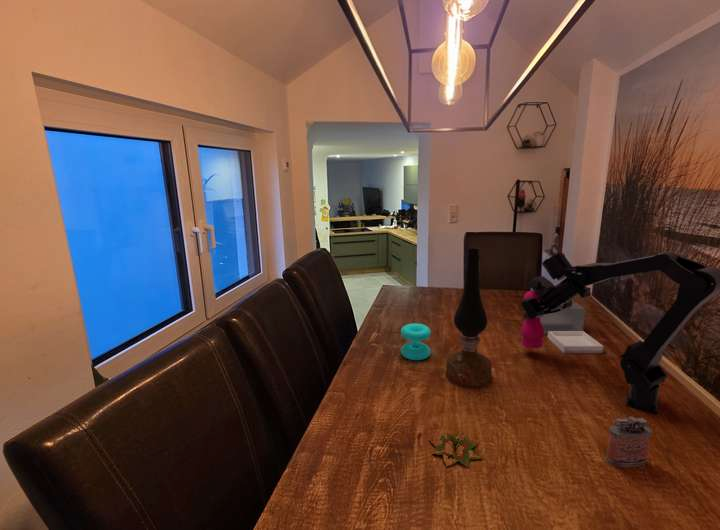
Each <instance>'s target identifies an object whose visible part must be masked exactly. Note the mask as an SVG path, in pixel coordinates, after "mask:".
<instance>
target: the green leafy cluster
mask: <svg viewBox="0 0 720 530" xmlns="http://www.w3.org/2000/svg"><path fill="white" fill-rule="evenodd" d="M450 431H451V432H452V428H451V427H450ZM461 433H462V434H463V435H464V438H462V437H460V436H461V435H462V434H461ZM461 433H456V434H454V433H453V432H452V433H451V434H450V433H449V432H447V431H445V434H446V435H447V438H448V439H446V438H445V436H443V435H442V434H441V438H440V439H441V440H442V442H443V444H438V446H436V447H435V446H434V449H433V451H435V450H436V451H437V450H438V451H442V450H444V449H445V447H444V446H445V443H447V442H448V441H451V442H453V443H452V444H453V445H451V444H450V443H449V442H448V443H449V444H450V445H451V447H452V450H453V449H454V450H456V451H457V450H458V449H459V448H458V447H459V446H460V445H461V446H463V447H464V449H463V451H462V452H463V453H462V455H461V456H457V455H452V454H449V453H446V452H444V451H443V452H441V453H438V454H437V455H436V456H441V455H442V456H443V455H446V456H451V457H453V458H455V459H456V460H458V461H457V462H452V464H451V465H449V467H450V466H453V465H454V464H457V463H458V462H459V463H461V464H462V465H463V466H465V467H466V468H467V469H469V468H470V467H469V466H470V461H471V460H484V459H485V458H484V457H482V455H481V454H480V453H479V452H478V451H476V450H475V449H473V448H474V447H476V446H477V445H478V442H474V441H472V440H470V439H467V438H466V436H465V432H461ZM459 434H461V435H460V436H459V437H460V438H462V439H464V440H462V439H461V440H460V438H458V439H456V438H455V437H454V436H458V435H459ZM457 440H458V441H457ZM457 444H459V445H458V446H457ZM473 444H476V445H473ZM456 446H457V447H456ZM471 449H472V450H473V454H476V455H477V456H479V457H480V458H477V457H476V458H474V457H471V458H469V454H468V453H467V452H466V451H469V450H471ZM454 450H453V451H454ZM443 460H444V459H443V458H442V461H443ZM443 463H444V461H443ZM468 467H469V468H468Z"/></svg>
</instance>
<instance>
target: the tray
mask: <svg viewBox="0 0 720 530" xmlns="http://www.w3.org/2000/svg"><path fill="white" fill-rule="evenodd" d="M548 338H549V339H548ZM547 339H548V340H550V341H551V343H553V345H555V346H556V347H557V348H558V349H559V350H560V351H561V352H562V353H563V354H603V353H604V345H602V344H601V343H600V342H599V341H597V340H596V339H595V338H593V337H592V336H591V335H590V334H588V333H586V332H585V331H584V330H583V331H548V334H547Z"/></svg>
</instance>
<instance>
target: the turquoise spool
mask: <svg viewBox="0 0 720 530" xmlns="http://www.w3.org/2000/svg"><path fill="white" fill-rule="evenodd" d="M400 334H401V337H402V338H404V339H406V340H408V342H406V343H404V344H403V345H402V346H401V348H400V353H401V355H402V356H403V357H404V358H405V359H408V360H411V361H422V360H425V359H427V358H428V357H430V355H431V349H430V347H429V345H427V344H426V343H425V342H424V343H423V342H422V341H426V340H427V339H428V338H430V336H431V334H432V333H431V329H430V328H429V327H428V326H427V325H425V324H423V323H408V324H405V325H404V326H402V327H401V330H400Z"/></svg>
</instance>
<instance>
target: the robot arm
mask: <svg viewBox="0 0 720 530" xmlns="http://www.w3.org/2000/svg"><path fill="white" fill-rule="evenodd" d="M541 265H542V266H543V268H544V269H545V271H546V272H547V274H548V275H549V276H550V277H551V279H552V280H557V281H560V282H559V283H557V284H556V285H554V283H553V281H551V280H550V279H548V278H546V277H545V276H543V275H539V276H535V277H533V278H531V280H529V281H528V286H529V288H530V289H531V288H532V289H533V290H536V291H537V292H538V293H540V294H539V295H538V296H539V297H540V298H541V300H538V301H537V300H536V298H533V297H531V298H527V299H524V298H523V300H521V301H520V305H521V307H522V308H523V310H524V311H525V313H524V315H523V318H524V319H529V318H531V319H535V318H539V317H542V316H543V315H544V314H549V313H555V312H559V311H561V309H560V308H561V307H562V305H564V307H563V308H562V309H563V310H565V309H568V308H569V307H571V306H572V300H573V299H574V298H575V297H577V296H580V297H581V298H583V299H584V298H585V299H586V298H588V297H591V295H592V294H591V293H592V292H591V289H592V288H591V287H588V286H590V285H595V284H598V283H602V282H605V281H607V280H608V281H609V280H611V279H613V278H616V277H617V278H618V277H623V276H624V277H625V276H628V275H629V276H630V275H636V274H642V273H647V272H648V273H649V272H655V271H660V272H661V273H663V274H665V275H666V276H667V277H668V278H669V279H670V280H671V281H673V282H674V283H677V284H678V285H679V287H678V288H677V292H676V297H675V300H674V302H673V303H672V304H671V305H670V307H669V308H668V310H667V311H666V312H665V313H664V314H663V315H662V317H661V318H660V320H659V321H658V322H657V324H656V325H655V326H654V328H653V329H651V331H650V332H649V334H648V335H647V336H646V337H645V339H644V340H643V341H642V340H639V341H636V342H634V343H631V344H629V345H627V347H626V349H625V351H624V353H622V354H621V355H620V356H619V358H621V359H620V361H619V365H620V368H621V370H622V372H623V374H624V378H625V381H626V383H627V384H628V385H630V386H629V392H627V394H626V401H625V405H626V406H628V407H631V408H635V409H638V410H641V411H646V412H650V413H652V414H657V415H658V414H659V400H658V398H659V397H658V396H659V391H660V384H661V383H664V382H665V381H666V380H667V379H668V377H669V376H668V374H667V373H666V372H665V370H664V369H663V368H662V367H661V366H660V363H661V361H662V358H663V353H664V350H665V349H666V347H667V346H668V345H669V344H670V343H671V341H673V339H674V338H675V337H676V335H678V333H679V332H680V331H681V330H682V328H683V327H684V326H685V324H687V322H688V321H689V320H690V319H691V318H692V317H693V315H694V314H695V313H696V312H697V310H698V309H699V308H700V307H702V306H703V305H705V304H706V303H708V302H709V301H710V300H712V299H713V298H714V297H716V296H717V295H718V294H719V293H720V268H717V267H713V266H707V265H704V264H703V263H700V262H697V261H695V260H692V259H689V258H686V257H683V256H681V255H679V254H677V253H675V252H673V251H664V252H661V253H656V254H654V255H649V256H644V257H638V258H633V259H628V260H627V259H626V260H621V261H617V262H591V263H587V264H584V265H575V266H573V265H572V264H571V262H570V261H569V260H568V259H567V257H566V255H565V254H564V252H557V253H556V254H555V255H552V256H551V257H548V258H546V259H545V260H543V262H542V263H541ZM538 302H539V303H538Z"/></svg>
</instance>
